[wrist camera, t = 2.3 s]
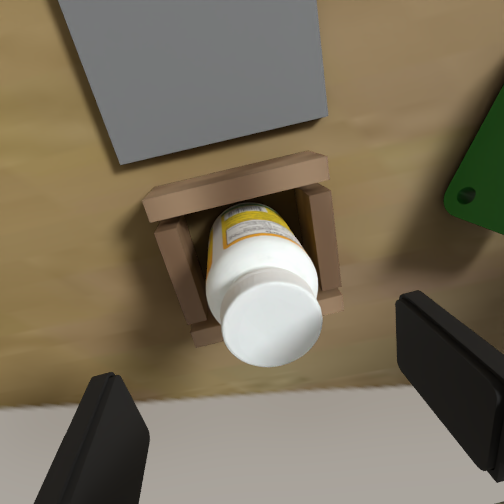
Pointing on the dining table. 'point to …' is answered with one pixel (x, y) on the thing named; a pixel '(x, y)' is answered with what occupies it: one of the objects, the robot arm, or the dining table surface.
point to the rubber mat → (197, 69)
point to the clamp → (482, 175)
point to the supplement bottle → (261, 286)
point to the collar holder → (234, 190)
